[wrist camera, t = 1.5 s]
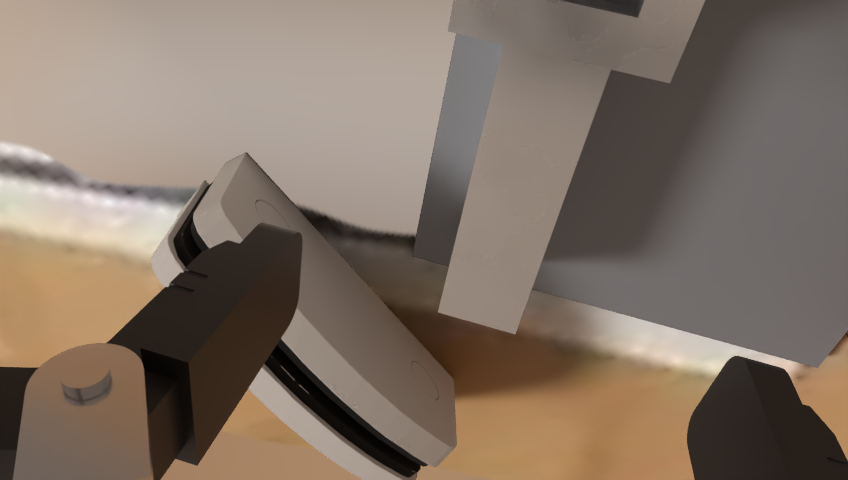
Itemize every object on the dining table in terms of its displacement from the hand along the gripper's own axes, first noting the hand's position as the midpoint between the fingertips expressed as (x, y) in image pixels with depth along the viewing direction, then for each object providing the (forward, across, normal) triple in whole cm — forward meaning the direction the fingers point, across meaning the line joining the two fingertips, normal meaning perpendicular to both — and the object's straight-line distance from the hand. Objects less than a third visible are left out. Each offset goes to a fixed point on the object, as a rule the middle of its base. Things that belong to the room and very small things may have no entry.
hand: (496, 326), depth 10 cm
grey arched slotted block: (+14, +7, +12) cm, 20 cm away
